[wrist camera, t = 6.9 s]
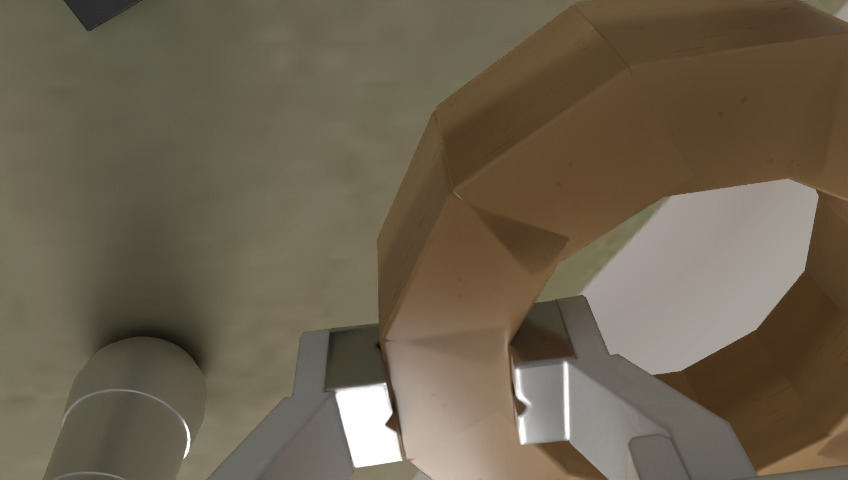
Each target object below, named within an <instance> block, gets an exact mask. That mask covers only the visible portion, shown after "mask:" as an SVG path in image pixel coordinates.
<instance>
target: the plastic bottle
mask: <svg viewBox="0 0 848 480" xmlns="http://www.w3.org/2000/svg"><path fill="white" fill-rule="evenodd" d="M205 404H206V385H205V380H204V377H203V374H202V372H201V371H200V369H199V368H198V366H197V365H196V363H195V362H194V360H193V359H192V358H191V357H190V356H189V354H188V353H187V352H186V351H184V350H183V349H181V348H180V347H178V346H177V345H175V344H173V343H171V342H169V341H166V340H162V339H159V338H154V337H132V338H127V339H123V340H120V341H117V342H114V343H112V344H109V345H107V346H105V347H104V348H102V349H100V350H99V351H98V352H97V353H95V354H94V355H93V356H92V357H91V359H90V360H89V361H88V362H87V364H86V365H85V366H84V367H83V369H82V370H81V371H80V372H79V374H78V375H77V377H76V378H75V380H74V382H73V385H72V388H71V391H70V394H69V398H68V401H67V404H66V407H65V411H64V416H63V421H62V429H61V431H60V434H59V437H58V439H57V442H56V445H55V448H54V450H53V453H52V456H51V459H50V461H49V464H48V467H47V470H46V472H45V475H44V478H43V480H175V479H176V476H177V474H178V471H179V469H180V466H181V464H182V461H183V459H184V458H185V456H186V455H187V453H188V451H189V449H190V448H191V446H192V444H193V442H194V439H195V437H196V435H197V433H198V430H199V428H200V426H201V424H202V422H203V419H204V414H205Z"/></svg>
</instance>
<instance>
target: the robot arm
mask: <svg viewBox="0 0 848 480" xmlns="http://www.w3.org/2000/svg"><path fill="white" fill-rule="evenodd" d="M509 354H510V367H511V377H512V381H513V406H514V417H515V424H516V429H517V433H518V437H519V442H520V445H528V444H538V443H547V442H557V441H567V440H570V443H571V444H572V445H573V446H574V447H575V448H576V449H577V450H578V451H579V452H580V453H581V454H582V455H583V456H584V457H585V458H587V459H588V460H589V461H590V462H591V463H592V464H593V465H594V466H595V467H596V468H597V469H598V470H599V471H600V472H601V473H602V474H603V475H605V476H606V477H607V478H608V479H609V480H848V465H840V466H832V467H825V468H817V469H809V470H801V471H793V472H785V473H777V474H770V475H762V476H758V474H757V473H756V471H755V469H754V467H753V465H752V463H751V462H750V460H749V458H748V456H747V454H746V452H745V451H744V449H743V447H742V445H741V443H740V441H739V440H738V438H737V436H736V434H735V432H734V431H733V429H732V427H731V425H730V423H729V422H727V421H725V420H724V419H722V418H720V417H719V416H717V415H716V414H714V413H712V412H711V411H709V410H708V409H706V408H704V407H703V406H701V405H699V404H698V403H696V402H695V401H693V400H691V399H690V398H688V397H687V396H685V395H683V394H682V393H680V392H678V391H677V390H675V389H674V388H672V387H670V386H669V385H667V384H666V383H664V382H662V381H661V380H659V379H657V378H656V377H654V376H653V375H651V374H649V373H648V372H646V371H644V370H643V369H641V368H640V367H638V366H636V365H635V364H633V363H632V362H630V361H628V360H627V359H625V358H623V357H622V356H620V355H619V354H614V355H610V354H609V352H608V350H607V347H606V345H605V342H604V340H603V338H602V335H601V333H600V330H599V328H598V325H597V323H596V321H595V318H594V316H593V313H592V311H591V308H590V306H589V304H588V301H587V299H586V297H584V296H583V295H579V296H573V297H566V298H560V299H555V300H552V301H545V302H537V303H534V304H533V306H532V308H531V309H530V311H529V313H528V314H527V316H526V317H525V319H524V321H523V322H522V324H521V326H520V327H519V329H518V331H517V332H516V334H515V336H514V337H513V339H512V341H511V342H510V344H509ZM395 461H402V446H401V433H400V428H399V423H398V418H397V413H396V410H395V408H394V406H393V402H392V388H391V383H390V379H389V374H388V369H387V365H386V361H384V360H383V356H382V352H381V347H380V343H379V323H377V324H368V325H359V326H349V327H340V328H331V329H325V330H317V331H308V332H303V334H302V335H301V337H300V341H299V349H298V356H297V364H296V371H295V378H294V386H293V393H292V397H286V398H283V399H282V400H281V401H280V402H279V404H278V405H277V406H276V407H275V408H274V409H273V410H272V411H271V412H270V413H269V414H268V415H267V416H266V417H265V418H264V419H263V420H262V421H261V422H260V424H259V425H258V426H257V427H256V428H255V429H254V430H253V431H252V432H251V433H250V434H249V435H248V436H247V437H246V438H245V439H244V440H243V441H242V442H241V444H240V445H239V446H238V447H237V448H236V449H235V450H234V451H233V452H232V453H231V454H230V455H229V456H228V457H227V458H226V459H225V460H224V461H223V462H222V464H221V465H220V466H219V467H218V468H217V469H216V470H215V471H214V472H213V473H212V474H211V475H210V476H209V477H208V478H207V479H206V480H349V478H350V476H351V475H352V473H353V472H354V469H353V468H357V467H363V466H370V465H376V464H383V463H389V462H395Z"/></svg>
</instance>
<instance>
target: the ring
mask: <svg viewBox="0 0 848 480" xmlns="http://www.w3.org/2000/svg"><path fill="white" fill-rule="evenodd" d="M781 179H791V180H793V181H796V182H798V183H801V184H803V185H806V186H808V187H811V188H814V189H816V191H817V193H818V195H819V198H818V203H817V208H816V214H815V219H814V224H813V230H812V235H811V240H810V245H809V251H808V256H807V261H806V267H805V271H804V272H803V273H802V275H801V276H800V277H799V278H798V280H797V281H796V282H795V283H794V284H793V286H792V287H791V288H790V289H789V290H788V292H787V293H786V294H785V295H784V296H783V298H782V299H781V300H780V301H779V303H778V304H777V305H776V306H775V308H774V309H773V310H772V311H771V312H770V314H769V315H768V316H767V317H766V319H765V320H764V321H763V322H762V324H761V325H760V326H759V327H758V328H757V330H755V331H753V332H751V333H749V334H748V335H746V336H744V337H742V338H740V339H738V340H737V341H735V342H733V343H731V344H730V345H728V346H726V347H724V348H722V349H720V350H718V351H717V352H715V353H713V354H711V355H709V356H707V357H706V358H704V359H702V360H700V361H698V362H697V363H695V364H693V365H691V366H689V367H687V368H686V369H684V370H682V371H678V372H671V373H665V374H657V375H653V376H654V377H656V378H657V379H659V380H661V381H662V382H664V383H666V384H667V385H669V386H670V387H672V388H674V389H675V390H677V391H678V392H680V393H682V394H683V395H685V396H687V397H688V398H690V399H691V400H693V401H695V402H696V403H698V404H699V405H701V406H703V407H704V408H706V409H708V410H709V411H711V412H712V413H714V414H716V415H717V416H719V417H720V418H722V419H724V420H725V421H727V422H729V423H730V425H731V427H732V429H733V431H734V432H735V434H736V436H737V438H738V440H739V441H740V443H741V445H742V447H743V449H744V451H745V452H746V454H747V456H748V458H749V460H750V462H751V463H752V465H753V467H754V469H755V471H756V473H757V474H758V476H762V475H770V474H777V473H785V472H793V471H801V470H809V469H817V468H825V467H832V466H840V465H848V23H847V22H845V21H843V20H840V19H839V18H836V17H834V16H832V15H830V14H828V13H826V12H824V11H822V10H820V9H817V8H815V7H813V6H811V5H809V4H807V3H805V2H803V1H800V0H592V1H585V2H579V3H575V4H574V5H573V6H570V7H569V8H568V9H566V10H565V11H564V12H562V13H561V14H559V15H558V16H557V17H555V18H554V19H553V20H551V21H550V22H549V23H547V24H546V25H545V26H543V27H542V28H541V29H539V30H538V31H537V32H535V33H534V34H533V35H531V36H530V37H529V38H527V39H526V40H525V41H523V42H522V43H521V44H519V45H518V46H517V47H515V48H514V49H513V50H511V51H510V52H509V53H507V54H506V55H505V56H503V57H502V58H501V59H499V60H498V61H497V62H495V63H494V64H493V65H491V66H490V67H489V68H487V69H486V70H485V71H483V72H482V73H480V74H479V75H478V76H476V77H475V78H474V79H472V80H471V81H470V82H468V83H467V84H466V85H464V86H463V87H462V88H460V89H459V90H458V91H456V92H455V93H454V94H452V95H451V96H450V97H448V98H447V99H446V100H444V101H443V102H442V103H440V104H439V105H438V106H437V107H436V110H435V111H434V112H433V113H432V115H431V117H430V120H429V122H428V124H427V127H426V129H425V131H424V133H423V136H422V138H421V140H420V142H419V145H418V147H417V149H416V152H415V154H414V156H413V158H412V161H411V163H410V165H409V167H408V170H407V172H406V174H405V177H404V179H403V181H402V183H401V186H400V188H399V190H398V192H397V195H396V197H395V199H394V202H393V204H392V206H391V208H390V211H389V213H388V215H387V217H386V220H385V222H384V224H383V226H382V229H381V231H380V233H379V238H378V240H377V250H378V306H379V343H380V347H381V352H382V356H383V360H384V361H386V365H387V369H388V374H389V379H390V383H391V388H392V402H393V406H394V408H395V410H396V413H397V418H398V423H399V428H400V433H401V442H402V447H403V451H404V456H405V458H406V459H408V461H409V462H410V463H411V464H413V465H414V466H415V467H416V468H417V469H419V470H420V471H421V472H422V473H424V474H425V475H426V476H427V477H429V478H430V479H431V480H609V479H608V478H607V477H606V476H605V475H603V474H602V473H601V472H600V471H599V470H598V469H597V468H596V467H595V466H594V465H593V464H592V463H591V462H590V461H589V460H588V459H587V458H585V457H584V456H583V455H582V454H581V453H580V452H579V451H578V450H577V449H576V448H575V447H574V446H573V445H572V444H571V443H570V440H567V441H557V442H547V443H538V444H528V445H520V442H519V437H518V433H517V429H516V424H515V417H514V406H513V381H512V377H511V367H510V354H509V344H510V342H511V341H512V339H513V337H514V336H515V334H516V332H517V331H518V329H519V327H520V326H521V324H522V322H523V321H524V319H525V317H526V316H527V314H528V313H529V311H530V309H531V308H532V306H533V304H534V303H535V301H536V299H537V298H538V296H539V294H540V293H541V291H542V289H543V288H544V286H545V284H546V283H547V281H548V279H549V278H550V276H551V274H552V273H553V271H554V269H555V268H556V266H557V264H558V263H559V262H561V261H562V260H564V259H566V258H567V257H569V256H570V255H572V254H574V253H575V252H577V251H578V250H580V249H581V248H583V247H585V246H586V245H588V244H589V243H591V242H593V241H594V240H596V239H597V238H599V237H600V236H602V235H604V234H605V233H607V232H608V231H610V230H612V229H613V228H615V227H616V226H618V225H619V224H621V223H623V222H624V221H626V220H627V219H629V218H631V217H632V216H634V215H635V214H637V213H639V212H640V211H642V210H643V209H645V208H646V207H648V206H650V205H651V204H653V203H654V202H656V201H658V200H659V199H661V198H662V197H666V196H672V195H679V194H686V193H693V192H699V191H706V190H712V189H720V188H727V187H733V186H740V185H747V184H754V183H760V182H767V181H774V180H781Z"/></svg>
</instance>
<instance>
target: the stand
mask: <svg viewBox="0 0 848 480" xmlns="http://www.w3.org/2000/svg"><path fill="white" fill-rule="evenodd" d="M64 1H65V2H66V4H67V5H68V6H69V8H70V9H71V10H72V11H73V13H74V14H75V15H76V17H77V18H78V19H79V21H80V22H81V23H82V24H83V26H84V27H85V28H86V30H87V31H91V30H92V29H94V28H96V27H97V26H99V25H101V24H103V23H104V22H106V21H108V20H109V19H111V18H113V17H114V16H116V15H118V14H120V13H121V12H123V11H125V10H126V9H128V8H130V7H131V6H133V5H135V4H137V3H138V2H140V1H142V0H64Z"/></svg>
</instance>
